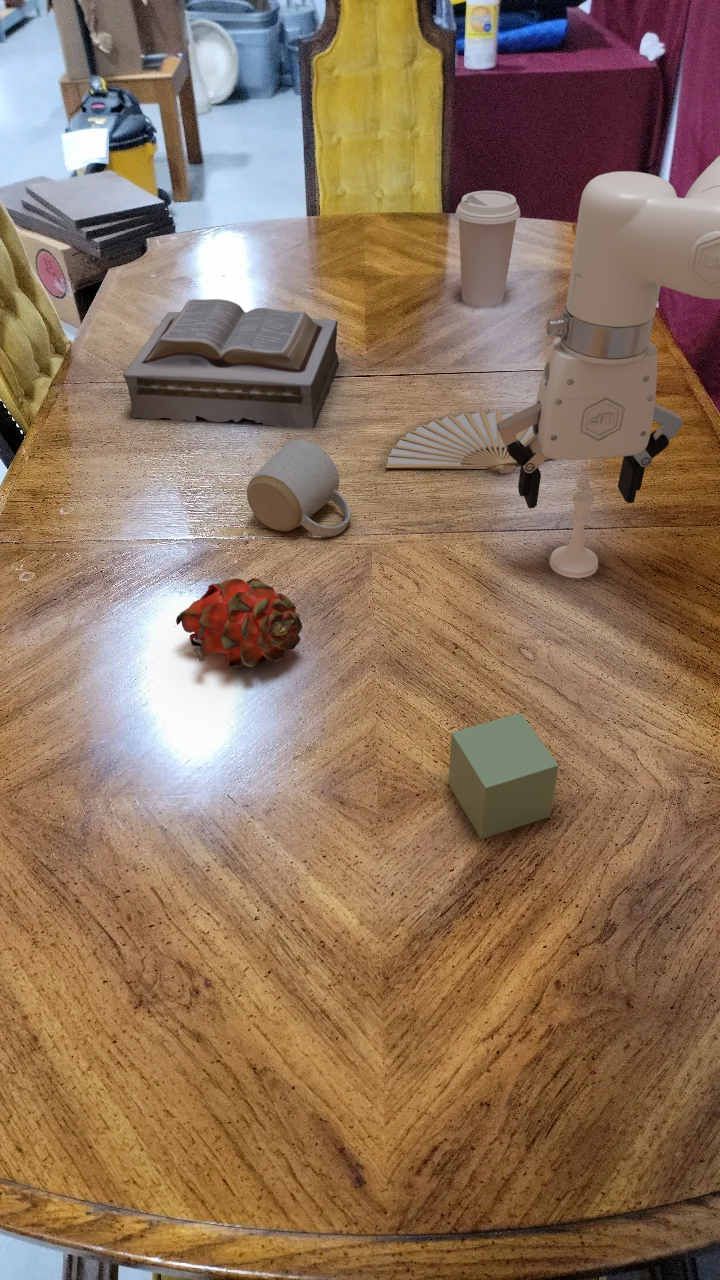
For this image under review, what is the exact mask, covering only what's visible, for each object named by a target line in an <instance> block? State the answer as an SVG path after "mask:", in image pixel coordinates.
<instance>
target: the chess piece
mask: <svg viewBox="0 0 720 1280" xmlns="http://www.w3.org/2000/svg"><path fill="white" fill-rule="evenodd" d="M576 488H578V489H580V492H577V493H575V494H574V495H573V496H572V502H573V506H574V512H572V513H571V514H570V515H569V517H568V519H569V521H570V522H571V523H572V524H573V528H572V531H571V536H570V539H569V542H568V544H567V545H561V546H559V547H556V549H554V550H553V551H552V552H551V555H550V558H549V566H550V568H551V569H552V570H553V571H554V572H555V573H557V574H558V575H560V576H563V577H566V578H571V579H582V578H586V577H587V578H588V577H590V576H592V575H593V574H595V573H596V572H597V571H598V568H599V558H598V556H597V554H596V553H595V552H594V551H593V550H591V549H590V548H588V547H585V526H587V525H589V524H591V522H592V516H591V515H590V514H589V513H588V512H589V511H590V508H591V507H592V504H593V503H594V501H595V498H594V496H593V495H592V494H593V493H594V488H593V487H591V486H590V480H589V479H588V478H584V479H582V481H579V482H577V484H576Z"/></svg>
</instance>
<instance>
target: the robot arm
mask: <svg viewBox="0 0 720 1280" xmlns="http://www.w3.org/2000/svg"><path fill="white" fill-rule="evenodd" d="M575 229H576V230H575V237H574V244H573V249H572V258H571V265H570V273H569V279H568V286H567V293H566V300H565V306H562V310H561V311H562V312H561V314H560V316H556V317H555V318H548V319H547V321H546V326H545V327H546V335H547V336H555V337H556V338H554V339H553V342H552V345H551V347H550V350H549V353H548V355H547V359H546V362H545V365H544V368H543V371H542V375H541V379H540V382H539V386H538V391H537V395H536V401H535V404H532V405H531V406H530V405H529V406H528V407H527V408H525V409H522V410H520V411H518V412H517V413H516V414H514V415H512V416H510V417H508V418H506V419H504V420H502V421H500V422H499V423H498V424H497V429H498V432H499V434H500V436H501V438H502V440H503V443H504V445H505V447H506V449H507V451H506V452H507V453H509V455H508V456H511V457H512V458H513V459H514V460H515V461H517V462H518V463H517V464H519V466H520V468H519V475H518V476H519V477H518V484H517V489H518V494H519V497H523V498H524V499H525V503H526V505H527V508H528V509H535V508H536V507H538V499H539V492H540V484H541V478H542V474H541V471H540V468H539V467H540V466H541V465H542V464H543V463H545V461H547V460H546V459H547V458H551V459H550V460H558V461H559V460H561V461H562V460H587V459H604V458H605V459H606V458H622V462H621V468H620V472H619V477H618V482H617V488H618V491H619V492H620V494H621V496H622V498H623V500H624V502H625V503H627V504H634V503H635V500H636V497H637V496H636V495H637V491H640V490H641V488H642V483H643V479H644V474H645V470H646V468H647V467H649V466H650V465H651V464H652V463H653V459H654V458H655V457H657V456H658V455H659V454H660V453H661V452H663V451H664V450H665V449H667V448H668V446H669V445H670V441H671V439H673V438H674V437H675V435H676V434H677V433H678V432H679V431H680V429H681V428H682V427H683V425H684V421H683V419H682V417H681V416H680V415H679V414H678V413H677V412H675V411H673V410H671V409H669V408H667V407H665V406H662V405H661V404H659V403H658V402H657V403H656V397H657V385H658V384H657V383H658V382H657V381H658V349H657V347H656V346H655V344H653V343H652V342H651V341H650V340H651V335H652V331H653V326H654V320H655V315H656V312H657V307H658V301H659V296H660V292H661V287H664V288H667V289H670V290H673V291H675V292H680V293H682V294H686V295H689V296H692V297H695V298H699V299H706V300H720V154H719V155H718V156H717V157H716V158H715V159H714V161H712V162H711V164H710V165H708V166H707V167H706V169H705V170H704V171H702V173H701V174H700V175H699V176H698V177H697V179H696V180H695V181H694V182H693V183H692V184H691V186H690V188H689V189H688V191H687V192H686V194H685V195H684V197H678V195H677V192H676V190H675V187H674V186H673V185H672V184H671V183H670V181H668V180H666V179H665V178H662V177H660V176H657V175H654V174H652V173H646V172H641V171H629V170H628V171H627V170H625V171H623V170H622V171H611V172H606V173H603V174H599V175H597V176H595V177H594V178H592V179H590V180H589V181H588V183H587V184H586V185H585V187H584V188H583V191H582V194H581V197H580V202H579V208H578V214H577V222H576V228H575ZM653 422H655V423H657V424H659V426H658V427H657V429H656V430H654V431H652V428H653ZM531 426H533V433H534V434H535V435H534V436H533V437H532V438H530V439H529V440H528V441H527V442H526V443H525V444H524V445H523V444H522V443H521V442H520V441H519V440H518V439H517V438H516V435H517V434H518V433H519V432H521V431H523V430H525V429H527V428H529V427H531Z"/></svg>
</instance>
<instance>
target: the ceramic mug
mask: <svg viewBox="0 0 720 1280" xmlns="http://www.w3.org/2000/svg"><path fill="white" fill-rule="evenodd" d="M339 487H340V474H339V471H338V469H337V466H336V464H335V462H334V460H333V459H332V457H331V456H330V455H329V454H328V453H327V451H325V450H324V449H322V447H320V445H318V444H316V443H314V442H312V441H309V440H307V439H302V438H299V439H298V438H297V439H292V440H290V441H288V442H286V443H285V444H284V445H283V446H282V447H281V448H280V449H279V450H278V451H276V452H275V454H274V455H273V456H272V457H271V458H270V459H269V460H268V461H267V462H266V463H265V464H263V466H262V467H260V469H258V471H256V472H255V474H254V475H253V477H252V478H251V479H250V481H249V483H248V485H247V488H246V499H247V504H248V506H249V508H250V510H251V512H252V513H253V514H254V516H255V517H256V519H257V520H258V521H260V522H261V523H262V524H263V525H264V526H266V527H268V528H269V529H272V530H274V531H278V532H289V531H292V530H294V529H297V528H298V527H300V526H302V527H303V528H304V529H305V530H306V531H308V532H309V533H312V534H314V535H317V536H318V537H324V538H325V537H326V538H329V537H335V536H338V535H341V533H343V532H344V531H345V530H346V528H347V527H348V524H349V523H350V521H351V518H352V511H351V508H350V505H349V503H348V501H347V500H346V499H345V497H344V496H343V495H342V494H341V493H340V492H339ZM329 501H332V502H333V503H334V504H335V506H337V507H338V509H339V510H340V511H341V513H342V515H343V517H344V518H343V519H344V520H343V521H342V522H341V523H340V524H337V525H334V526H325V525H322V524H320V523H318V522H316V521H314V520H313V519H311V517H312V516H313V515H314V514H316V513H317V512H318V511H319V510H321V508H323V507H324V506H325V505H326V504H328V502H329Z"/></svg>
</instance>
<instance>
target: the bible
mask: <svg viewBox="0 0 720 1280" xmlns="http://www.w3.org/2000/svg"><path fill="white" fill-rule="evenodd" d="M338 324H339V321H338V320H337V319H326V318H313V317H310V315H308V313H307V312H305V311H295V310H285V309H276V308H270V307H257V308H256V307H255V308H253V309H250V310H248V311H247V312H246V311H245V310H244V309H243V308H242V307H241V305H239V304H238V303H237V302H234V301H231V300H227V299H220V298H210V299H209V298H208V299H207V298H206V299H199V298H196V299H195V298H193V299H192V298H191V299H188V300H187V301H186V303H185V305H184V306H183V308H182V309H181V311H168V312H167V313H166V314H165V316H164V317H163V318H162V319H161V320H160V322H159V324H158V325H157V326H156V327H155V329H154V331H153V332H152V334H151V335H150V337H148V340H147V342H145V343H144V345H143V347H142V348H141V349H140V351H139V352H138V353H137V355H136V356H135V358H134V359H133V360H132V362H131V363H130V364H129V366H128V368H127V369H126V371H125V372H123V378H124V380H125V383H126V386H127V390H128V395H129V399H130V402H131V412H132V418H133V419H134V418H137V419H148V420H159V419H163V418H165V419H169V420H170V421H172V422H173V421H175V422H182V421H187V422H197V417H199V418H202V419H204V420H206V421H207V422H213V423H225V422H229V421H231V420H232V421H234V422H235V423H237V422H240V421H241V420H242V419H246V420H249V421H254V422H255V423H256V424H259V423H260V424H261V423H262V424H261V425H263V426H274V427H285V428H299V429H300V428H303V429H311V430H312V429H314V427H315V426H316V425H317V421H318V419H319V416H320V413H322V410H323V405H324V404H325V401H326V398H327V396H328V394H330V391H331V389H332V387H331V384H332V383H333V382H334V381H335V377H336V373H337V369H338V367H339V365H340V362H339V354H338V353H337V349H336V345H337V338H338Z"/></svg>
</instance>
